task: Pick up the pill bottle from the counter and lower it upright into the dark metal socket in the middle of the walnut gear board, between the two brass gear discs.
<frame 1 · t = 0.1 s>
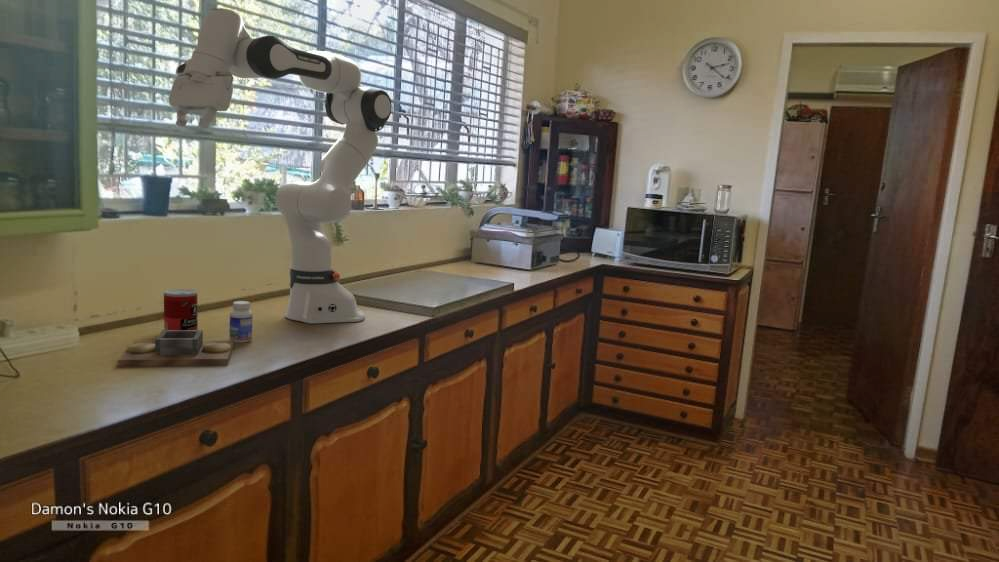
hand: (191, 126, 172), 52 cm above the worktop, tool tilted 20°, fingers open, 8 cm apart
gear board: (180, 355, 164), on the worktop
canned food: (181, 334, 183), on the worktop
pill bottle: (241, 341, 180), on the worktop
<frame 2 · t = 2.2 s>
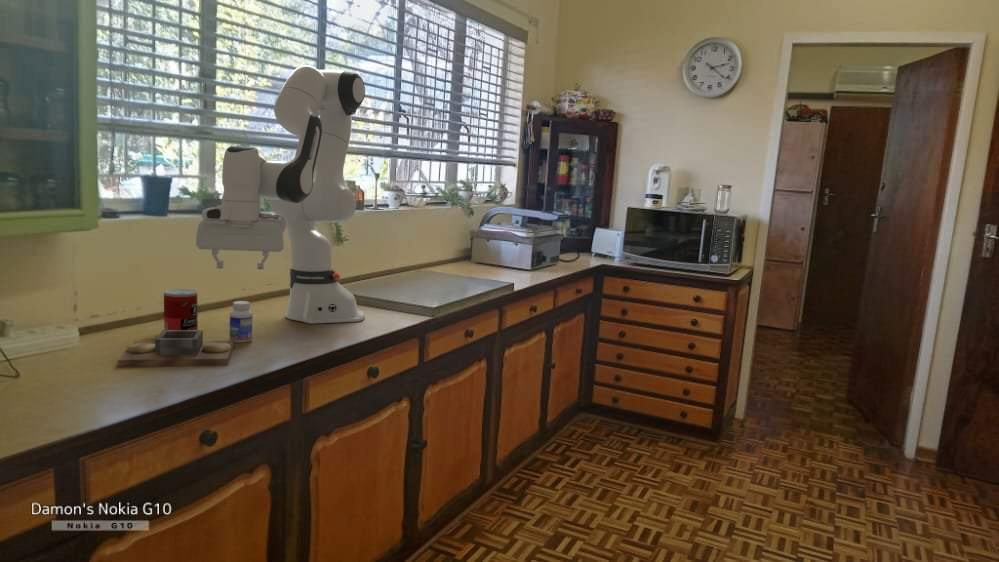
hand: (240, 268, 177), 18 cm above the worktop, tool pointing down, fingers open, 8 cm apart
nothing on the worktop moved.
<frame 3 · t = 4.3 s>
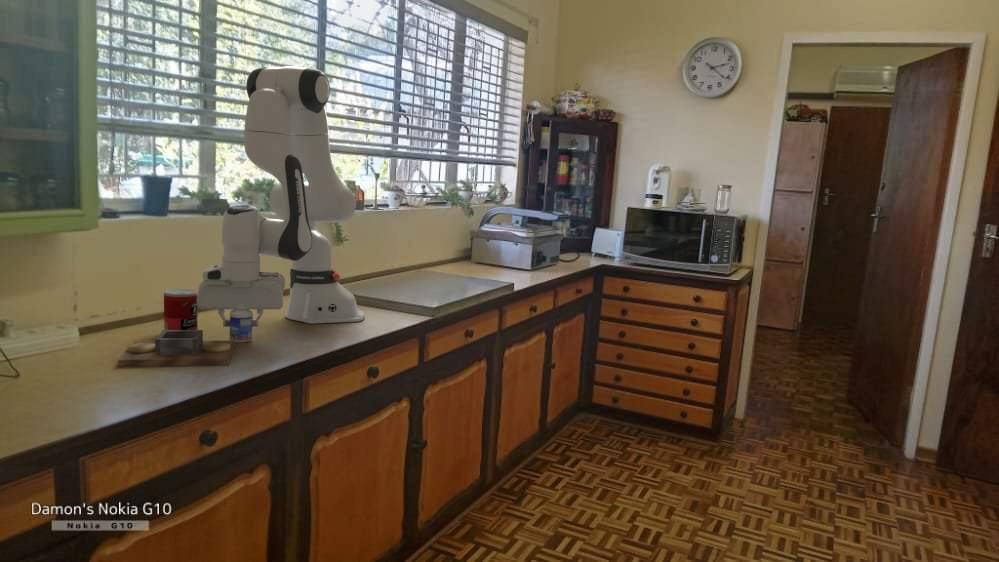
hand: (241, 326, 180), 4 cm above the worktop, tool pointing down, fingers closed on pill bottle, 5 cm apart
pill bottle: (241, 341, 180), on the worktop, touching gripper
everything else where it was.
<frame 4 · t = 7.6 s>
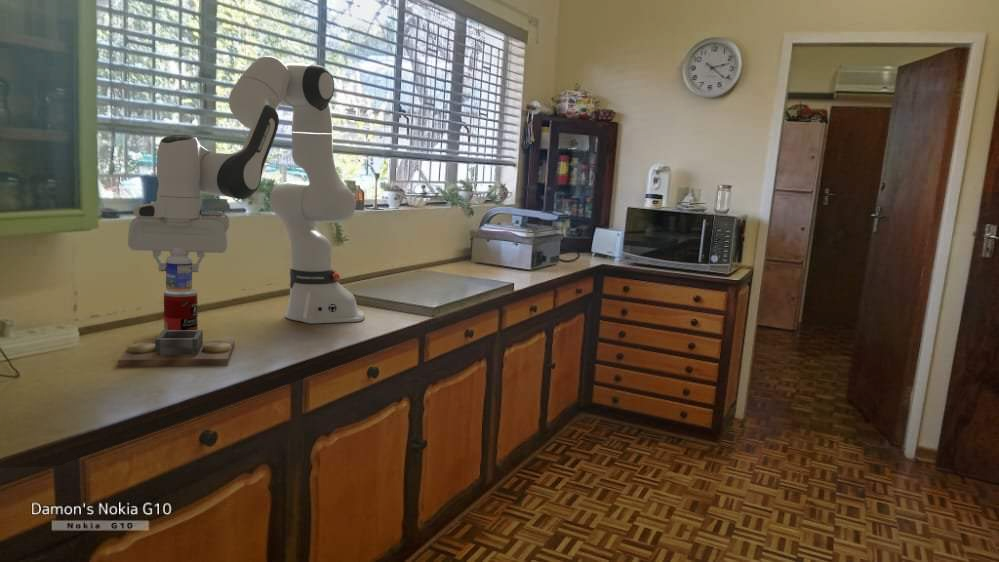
hand: (179, 271, 161), 20 cm above the worktop, tool pointing down, fingers closed on pill bottle, 5 cm apart
pill bottle: (179, 291, 161), point 15 cm above the worktop, touching gripper
everything else where it was.
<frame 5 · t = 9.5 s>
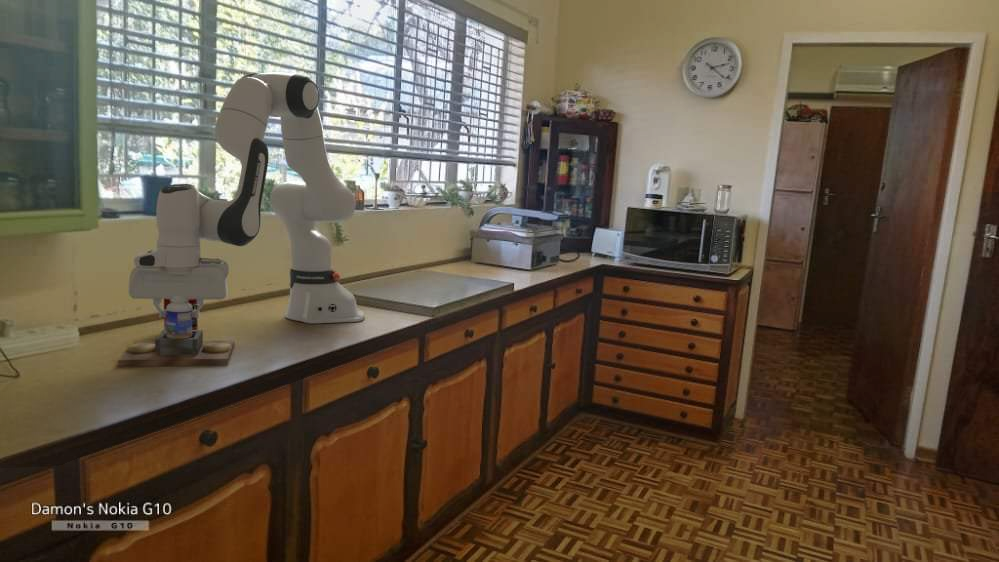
hand: (179, 318, 162), 9 cm above the worktop, tool pointing down, fingers closed on pill bottle, 5 cm apart
pill bottle: (179, 337, 163), point 4 cm above the worktop, touching gripper
everything else where it was.
when the fingers open (6 cm above the worktop, at t = 10.9 s): pill bottle stays where it is, resting on gear board.
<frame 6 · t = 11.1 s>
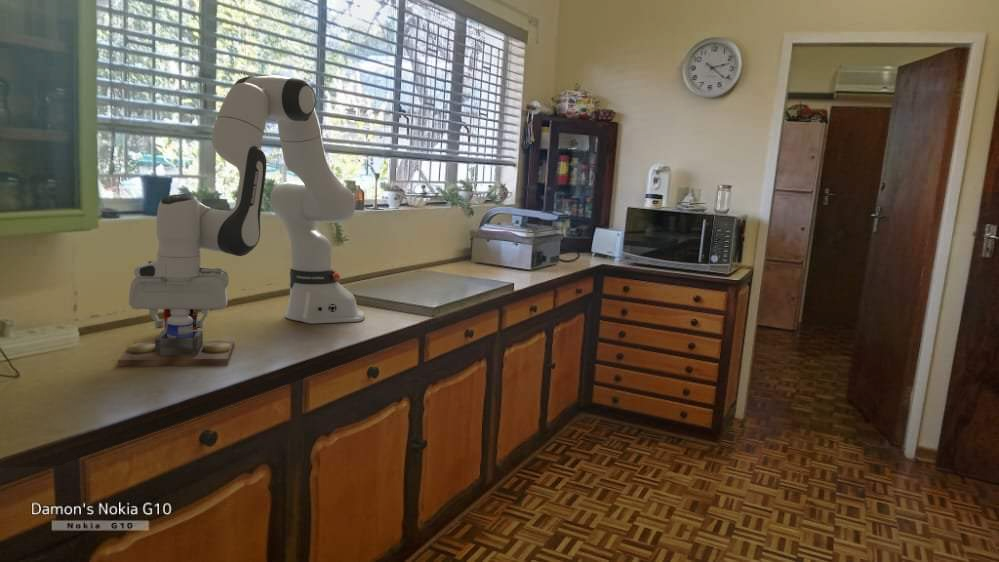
hand: (179, 327, 163), 7 cm above the worktop, tool pointing down, fingers open, 7 cm apart
pill bottle: (180, 350, 164), point 1 cm above the worktop, touching gear board
everything else where it was.
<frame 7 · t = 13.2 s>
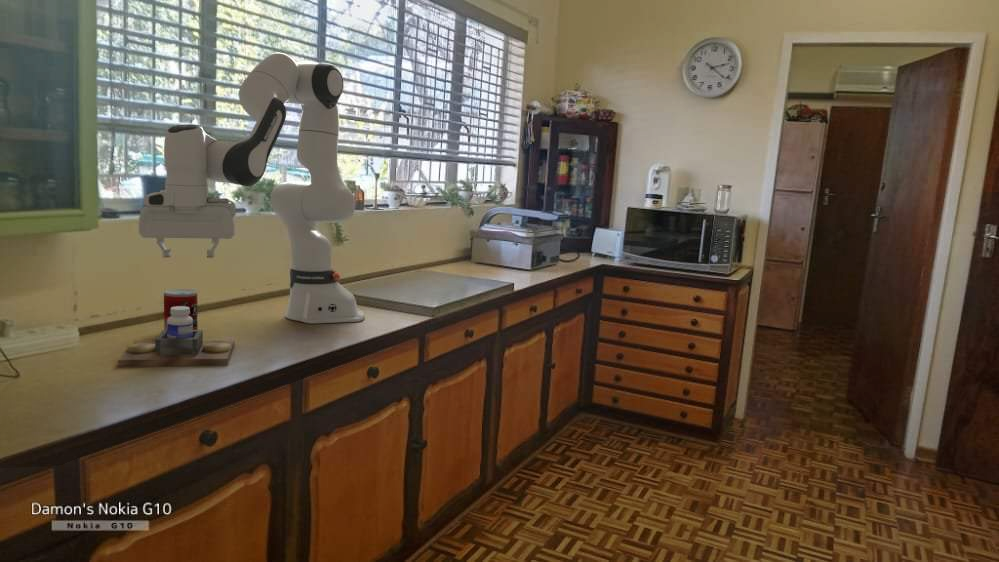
hand: (189, 257, 166), 22 cm above the worktop, tool pointing down, fingers open, 8 cm apart
nothing on the worktop moved.
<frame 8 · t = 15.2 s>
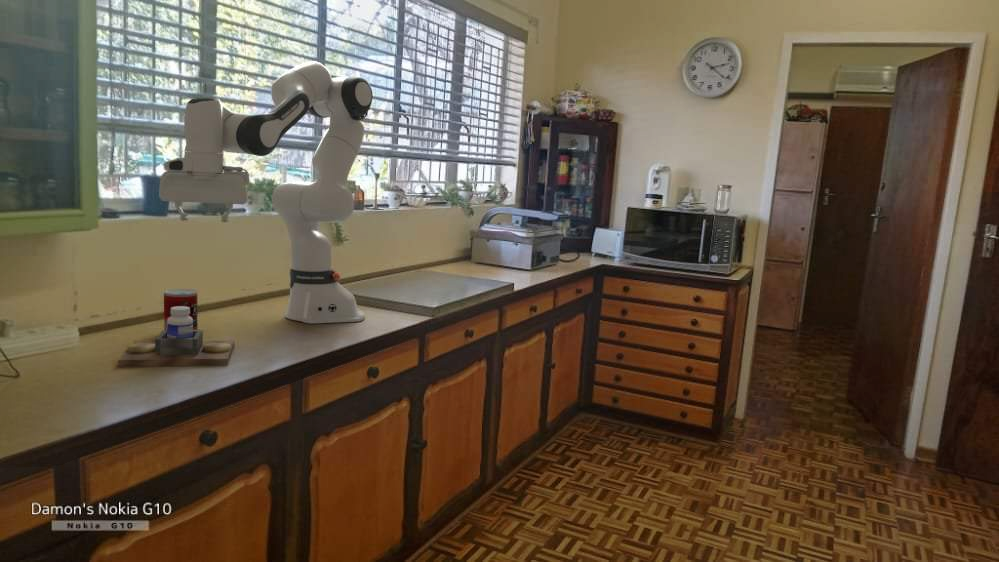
hand: (204, 221, 178), 29 cm above the worktop, tool pointing down, fingers open, 8 cm apart
nothing on the worktop moved.
at the end: pill bottle 0.1 cm off-centre on the gear board, point 1.3 cm above the gear board's base; pill bottle tilted 0°; the gripper is holding nothing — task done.
